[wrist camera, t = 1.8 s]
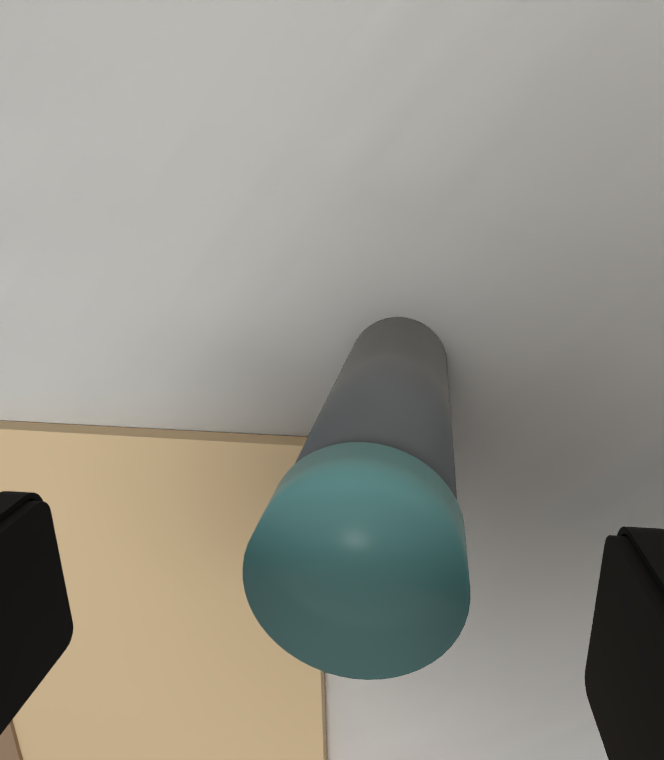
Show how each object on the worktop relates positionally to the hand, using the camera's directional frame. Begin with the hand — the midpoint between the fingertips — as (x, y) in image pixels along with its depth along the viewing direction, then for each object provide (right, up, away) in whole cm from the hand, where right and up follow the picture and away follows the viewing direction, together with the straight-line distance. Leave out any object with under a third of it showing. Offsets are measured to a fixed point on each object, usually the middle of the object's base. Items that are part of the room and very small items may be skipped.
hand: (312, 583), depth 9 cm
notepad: (-9, -10, +17) cm, 22 cm away
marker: (+3, +4, +11) cm, 12 cm away
